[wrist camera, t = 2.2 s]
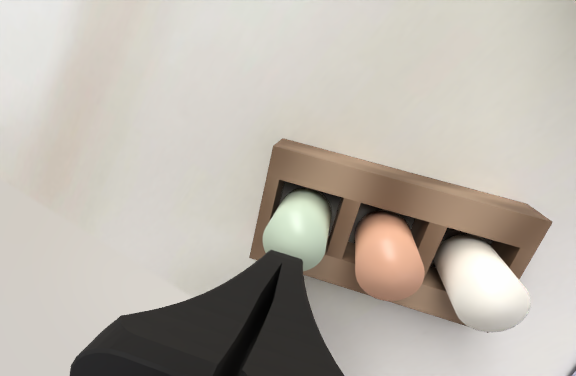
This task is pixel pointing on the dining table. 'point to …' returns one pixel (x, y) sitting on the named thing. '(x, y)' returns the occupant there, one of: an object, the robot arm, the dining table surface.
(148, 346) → the robot arm
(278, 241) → the button sage
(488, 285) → the white rounded cylinder
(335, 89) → the dining table surface
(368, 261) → the salmon pink cylinder
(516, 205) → the wooden three-slot tray
